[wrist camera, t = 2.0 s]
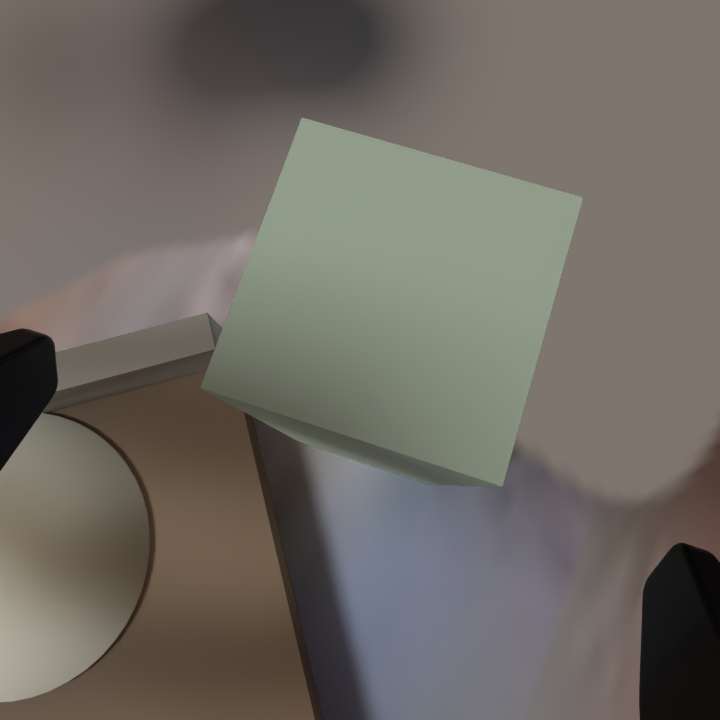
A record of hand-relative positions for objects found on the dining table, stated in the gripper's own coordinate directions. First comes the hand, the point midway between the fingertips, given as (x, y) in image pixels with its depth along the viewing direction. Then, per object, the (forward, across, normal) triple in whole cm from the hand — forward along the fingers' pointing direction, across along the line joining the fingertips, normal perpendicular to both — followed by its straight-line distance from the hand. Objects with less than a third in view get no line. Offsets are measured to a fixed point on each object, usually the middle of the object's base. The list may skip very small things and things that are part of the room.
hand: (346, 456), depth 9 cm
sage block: (+9, 0, +6) cm, 10 cm away
